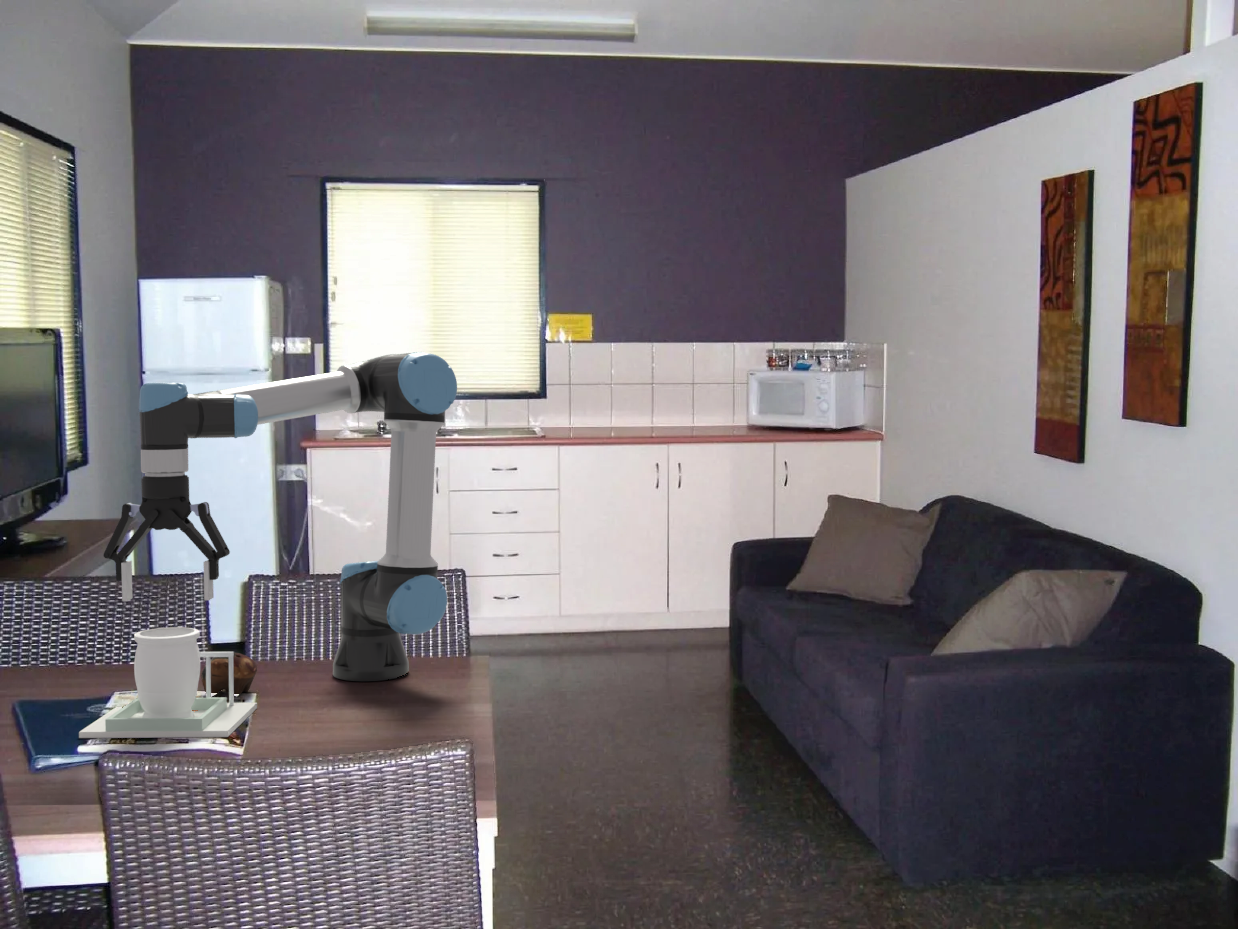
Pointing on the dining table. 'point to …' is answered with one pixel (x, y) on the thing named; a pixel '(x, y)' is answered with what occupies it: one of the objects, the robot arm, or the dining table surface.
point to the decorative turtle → (241, 669)
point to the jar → (167, 671)
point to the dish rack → (207, 721)
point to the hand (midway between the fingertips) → (168, 599)
